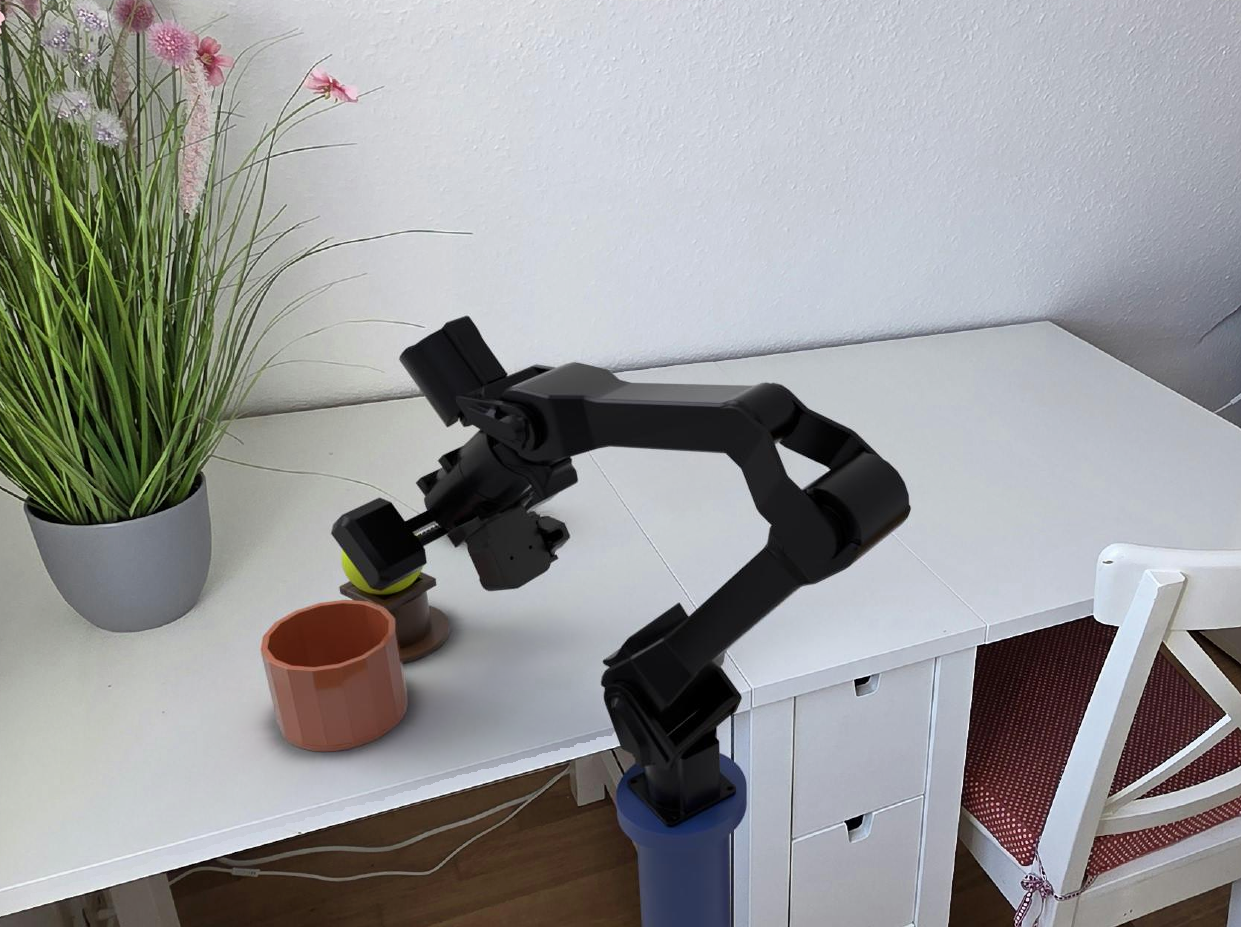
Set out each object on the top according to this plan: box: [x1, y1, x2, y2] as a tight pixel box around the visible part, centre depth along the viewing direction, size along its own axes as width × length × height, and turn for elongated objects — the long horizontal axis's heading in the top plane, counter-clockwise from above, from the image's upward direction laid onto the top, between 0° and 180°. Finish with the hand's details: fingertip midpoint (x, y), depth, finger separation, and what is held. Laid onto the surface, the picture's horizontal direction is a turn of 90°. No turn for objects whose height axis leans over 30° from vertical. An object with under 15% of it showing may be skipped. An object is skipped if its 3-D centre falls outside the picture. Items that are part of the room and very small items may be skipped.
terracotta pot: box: [260, 599, 409, 752], centre depth 99 cm, size 10×10×8 cm
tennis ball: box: [340, 533, 424, 595], centre depth 107 cm, size 7×7×7 cm
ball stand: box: [338, 571, 451, 664], centre depth 109 cm, size 9×9×6 cm
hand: (412, 546), depth 104 cm, fingers open, 9 cm apart
